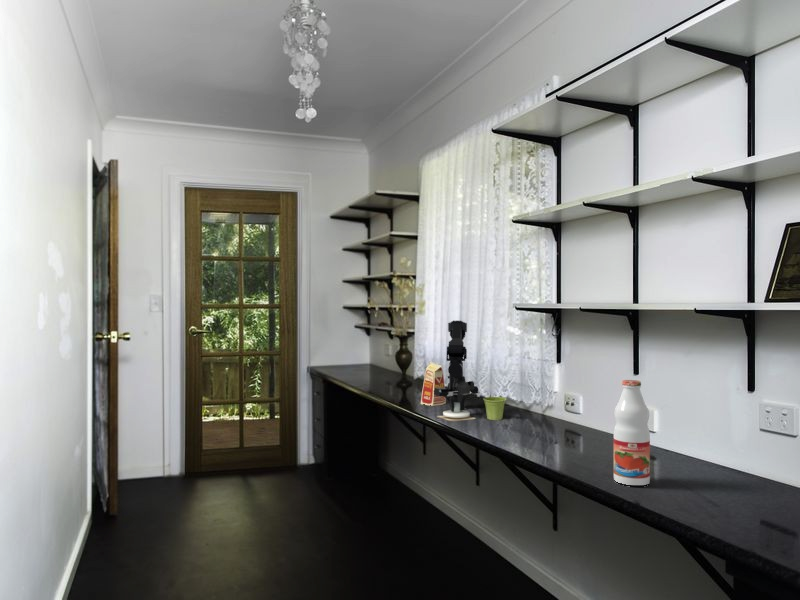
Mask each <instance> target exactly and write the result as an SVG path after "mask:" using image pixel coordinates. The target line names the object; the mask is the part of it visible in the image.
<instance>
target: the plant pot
mask: <svg viewBox="0 0 800 600" xmlns="http://www.w3.org/2000/svg"><path fill="white" fill-rule="evenodd" d="M483 401H484V406H485V410H486V411H485V412H486V419H488V420H493V421H498V420H499V421H500V420H502V419H503V417H504V416H503V415H504V408H505V404H506V401H507V398H505V397H502V396H501V397H500V396H487V397H483Z"/></svg>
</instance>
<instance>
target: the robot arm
mask: <svg viewBox="0 0 800 600" xmlns="http://www.w3.org/2000/svg"><path fill="white" fill-rule="evenodd" d="M447 332H448V333H449V337H450V338H451V340H449V341H448V345H447V346H446V362H449V363H448V369H447V372H448V374H449V375H447V379H448V383H447V388H446V387H445V388H442V387H441V388H435V389H434V395H437V396H444V397H445V398H446V403H447V404H448V409H449V410H451V411H452V412H454V402H460V411H461V410H464V411H466V410H467V408H466V407H465V405H466V403H465V401H466V400H467V398H468V397H470V395H471V394H473V395H474V394H479V387H478V386H476V385H475V381H473V380H470V381H466V377H465V376H464V362H465V361H466V360H467V358H468V357H467V356H468V355H467V353H468V351H467V347H466V346H465V345H464V339H465V337H466V333H467V332H468V323H467V322H465V321H463V320H452V321H449V322H448V323H447ZM470 393H471V394H470Z"/></svg>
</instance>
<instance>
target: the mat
mask: <svg viewBox="0 0 800 600" xmlns="http://www.w3.org/2000/svg"><path fill="white" fill-rule="evenodd" d="M436 417H437V418H441V419H443V420H445V421H448V422H456V421H457V422H458V421H459V422H460V421H468V420H475V419H477V417H472V416H471V415H470V416H468V417H464V418H450V417H445V416H443V414H442V415H437V416H436Z"/></svg>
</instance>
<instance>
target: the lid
mask: <svg viewBox="0 0 800 600" xmlns="http://www.w3.org/2000/svg"><path fill="white" fill-rule="evenodd" d="M470 414H471V413H470V411H469V410H461V411H460V402H454V412H452V411H451V409H449V410H444V411H443V412H442V415H443V416H445V417H450V418H464V417H468V416H470V417H471V415H470Z"/></svg>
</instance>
